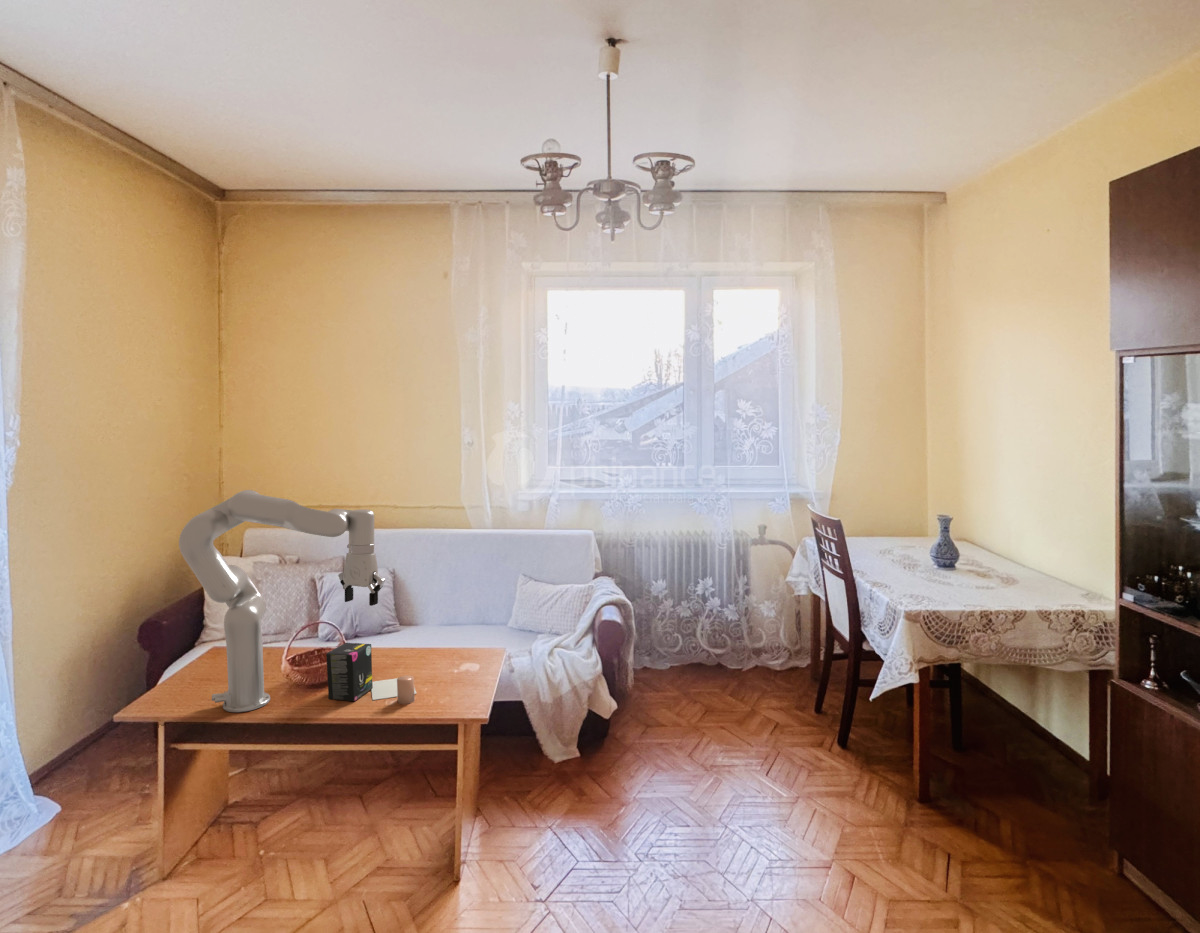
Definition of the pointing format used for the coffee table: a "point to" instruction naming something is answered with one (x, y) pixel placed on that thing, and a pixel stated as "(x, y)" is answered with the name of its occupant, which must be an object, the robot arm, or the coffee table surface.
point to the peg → (405, 689)
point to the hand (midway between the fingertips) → (361, 602)
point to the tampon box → (349, 671)
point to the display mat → (385, 689)
